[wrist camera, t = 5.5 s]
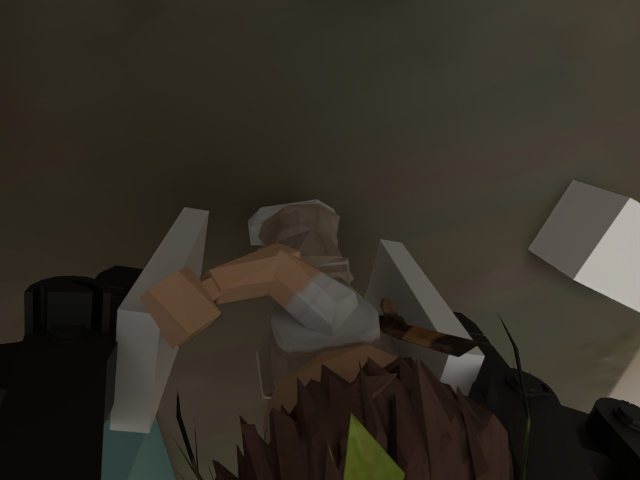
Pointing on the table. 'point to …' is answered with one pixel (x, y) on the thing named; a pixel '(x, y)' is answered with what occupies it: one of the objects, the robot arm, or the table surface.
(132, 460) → the teal block
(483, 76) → the table surface
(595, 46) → the table surface
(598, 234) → the white block
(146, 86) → the table surface
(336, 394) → the toy
